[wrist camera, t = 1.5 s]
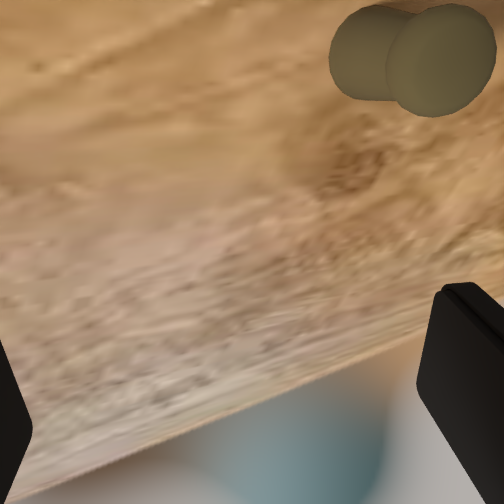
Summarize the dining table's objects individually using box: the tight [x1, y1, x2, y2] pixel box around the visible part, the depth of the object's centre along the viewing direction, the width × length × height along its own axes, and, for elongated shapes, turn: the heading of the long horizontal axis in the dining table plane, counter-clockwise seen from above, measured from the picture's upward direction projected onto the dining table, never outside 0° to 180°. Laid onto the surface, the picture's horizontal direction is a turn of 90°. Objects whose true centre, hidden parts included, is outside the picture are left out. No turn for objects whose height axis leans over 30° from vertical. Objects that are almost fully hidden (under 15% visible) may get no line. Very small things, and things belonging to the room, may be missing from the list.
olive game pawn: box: [329, 4, 497, 118], centre depth 24 cm, size 6×6×11 cm
